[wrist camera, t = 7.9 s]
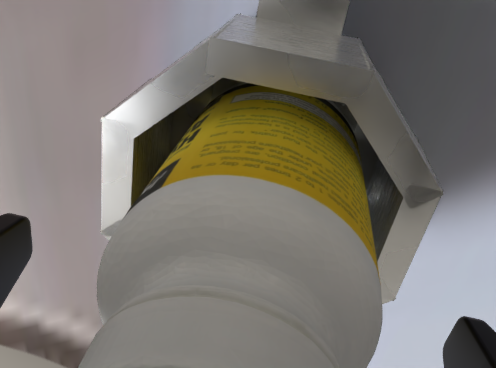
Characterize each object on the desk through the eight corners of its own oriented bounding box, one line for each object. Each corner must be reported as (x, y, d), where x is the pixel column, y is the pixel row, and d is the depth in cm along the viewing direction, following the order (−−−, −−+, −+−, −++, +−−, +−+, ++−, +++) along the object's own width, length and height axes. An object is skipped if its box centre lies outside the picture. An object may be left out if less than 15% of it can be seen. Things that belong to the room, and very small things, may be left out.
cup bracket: (484, -76, 11) (572, -86, 7) (357, 263, 17) (368, 359, 13) (174, -136, 12) (102, -175, 8) (149, 217, 17) (100, 296, 13)
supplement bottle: (205, 53, 13) (-15, 259, 4) (384, 100, 13) (509, 405, 4) (179, 204, 16) (9, 514, 7) (327, 244, 16) (335, 607, 7)
